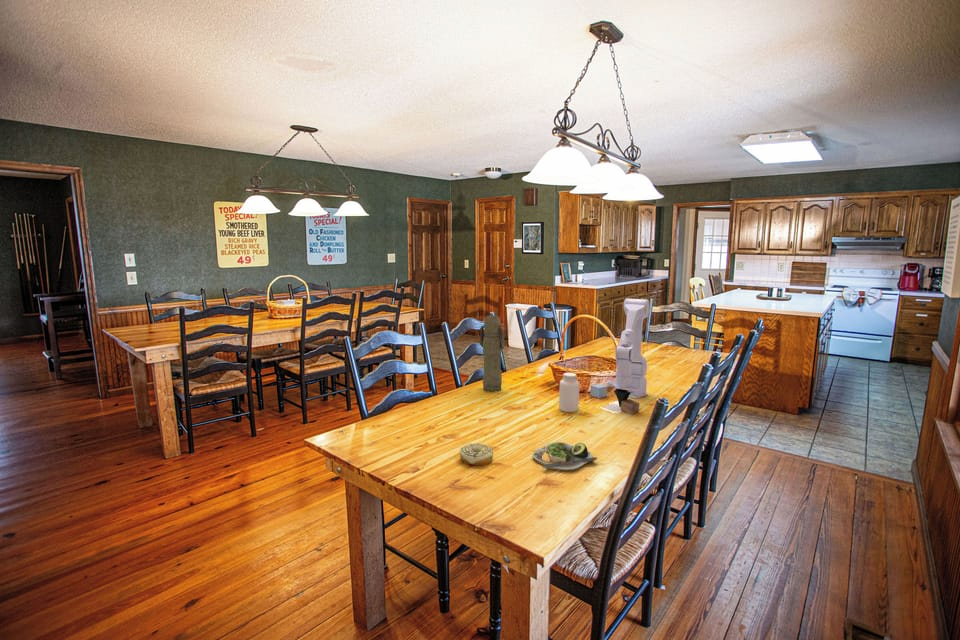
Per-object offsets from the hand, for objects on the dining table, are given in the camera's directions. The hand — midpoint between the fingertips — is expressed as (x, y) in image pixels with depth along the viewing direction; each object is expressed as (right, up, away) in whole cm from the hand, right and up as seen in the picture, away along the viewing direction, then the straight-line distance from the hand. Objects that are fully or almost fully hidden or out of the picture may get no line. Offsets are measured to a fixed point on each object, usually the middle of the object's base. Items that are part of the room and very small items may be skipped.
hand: (622, 406), depth 194 cm
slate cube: (-6, +1, +17) cm, 18 cm away
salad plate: (-32, -9, -44) cm, 55 cm away
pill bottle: (-22, -1, 0) cm, 22 cm away
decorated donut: (-60, -9, -44) cm, 75 cm away
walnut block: (+2, -1, -3) cm, 4 cm away
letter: (-2, -1, +2) cm, 3 cm away
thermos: (-53, +3, +28) cm, 60 cm away
